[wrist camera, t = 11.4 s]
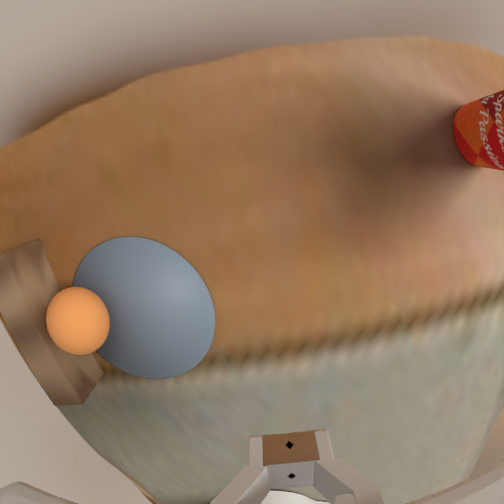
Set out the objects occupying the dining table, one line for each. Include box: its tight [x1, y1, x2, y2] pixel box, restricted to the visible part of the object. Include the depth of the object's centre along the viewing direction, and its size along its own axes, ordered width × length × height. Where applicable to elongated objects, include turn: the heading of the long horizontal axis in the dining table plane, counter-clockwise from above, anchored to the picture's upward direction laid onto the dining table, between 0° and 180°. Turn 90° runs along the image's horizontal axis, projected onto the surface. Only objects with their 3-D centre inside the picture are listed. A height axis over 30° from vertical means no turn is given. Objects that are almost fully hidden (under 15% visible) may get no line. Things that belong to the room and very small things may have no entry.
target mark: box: [73, 236, 216, 379], centre depth 24 cm, size 13×13×1 cm
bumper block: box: [0, 239, 104, 406], centre depth 22 cm, size 14×4×5 cm, turn 19°
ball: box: [46, 287, 110, 355], centre depth 21 cm, size 6×6×6 cm
